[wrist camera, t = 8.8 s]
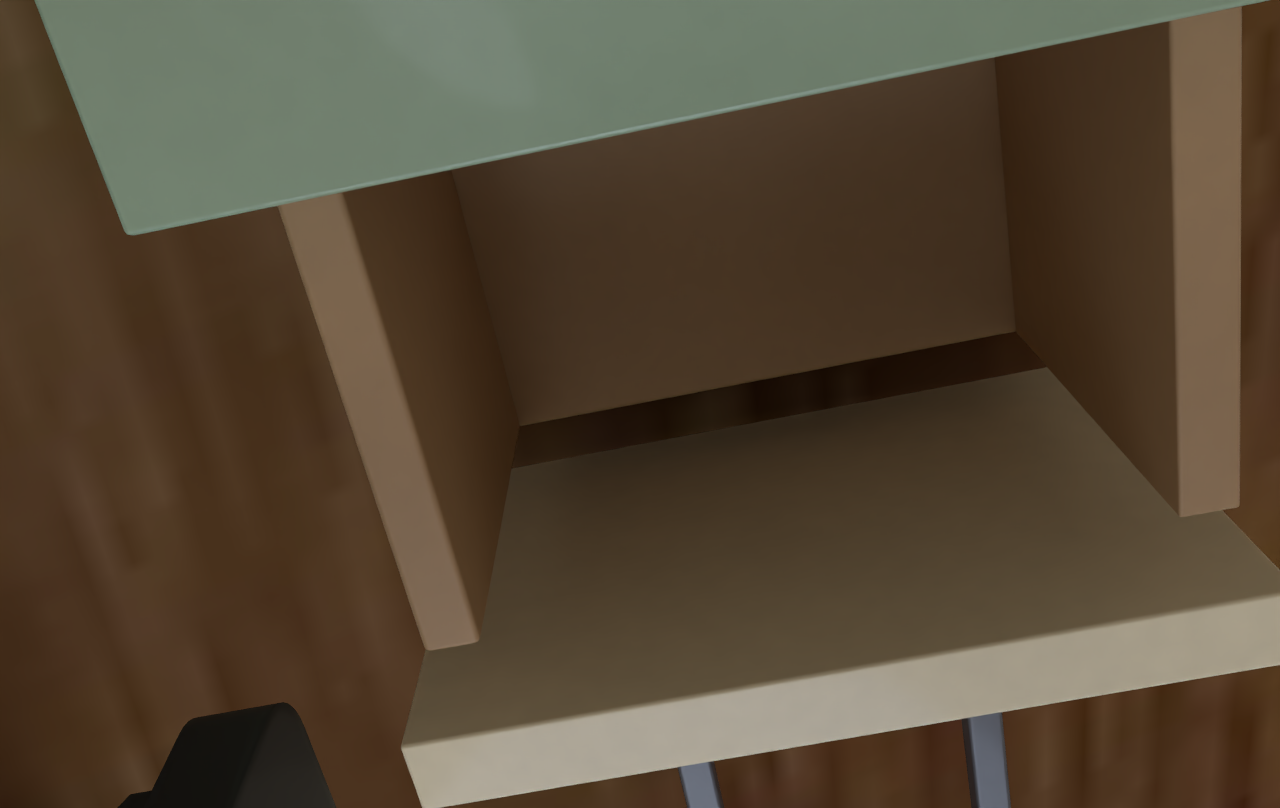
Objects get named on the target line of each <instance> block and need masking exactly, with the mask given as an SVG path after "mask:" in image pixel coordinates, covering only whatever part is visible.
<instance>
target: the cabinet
mask: <svg viewBox="0 0 1280 808" xmlns="http://www.w3.org/2000/svg"><path fill="white" fill-rule="evenodd" d="M1264 1H1269V0H35V3H36V5H37V8H38V10H39V13H40V16H41V18H42V21H43V23H44V26H45V28H46V31H47V33H48V36H49V39H50V41H51V44H52V46H53V49H54V51H55V54H56V57H57V59H58V62H59V64H60V67H61V69H62V72H63V75H64V77H65V80H66V82H67V85H68V87H69V90H70V92H71V95H72V98H73V100H74V103H75V105H76V108H77V110H78V113H79V116H80V118H81V121H82V123H83V126H84V128H85V131H86V133H87V136H88V139H89V141H90V144H91V146H92V149H93V151H94V154H95V157H96V159H97V162H98V164H99V167H100V169H101V172H102V175H103V177H104V180H105V182H106V185H107V187H108V190H109V192H110V195H111V198H112V200H113V203H114V205H115V208H116V210H117V213H118V216H119V218H120V221H121V223H122V226H123V228H124V231H125V232H126V233H127V235H139V234H144V233H148V232H153V231H158V230H163V229H168V228H173V227H177V226H182V225H187V224H192V223H197V222H201V221H206V220H211V219H216V218H221V217H226V216H230V215H235V214H240V213H245V212H250V211H255V210H259V209H264V208H269V207H274V206H279V205H284V204H288V203H293V202H298V201H303V200H308V199H313V198H317V197H322V196H327V195H332V194H337V193H342V192H346V191H351V190H356V189H361V188H366V187H371V186H375V185H380V184H385V183H390V182H395V181H400V180H404V179H409V178H414V177H419V176H424V175H428V174H433V173H438V172H443V171H448V170H453V169H457V168H462V167H467V166H472V165H477V164H482V163H486V162H491V161H496V160H501V159H506V158H511V157H515V156H520V155H525V154H530V153H535V152H540V151H544V150H549V149H554V148H559V147H564V146H569V145H573V144H578V143H583V142H588V141H593V140H598V139H602V138H607V137H612V136H617V135H622V134H627V133H631V132H636V131H641V130H646V129H651V128H655V127H660V126H665V125H670V124H675V123H680V122H684V121H689V120H694V119H699V118H704V117H709V116H713V115H718V114H723V113H728V112H733V111H738V110H742V109H747V108H752V107H757V106H762V105H767V104H771V103H776V102H781V101H786V100H791V99H796V98H800V97H805V96H810V95H815V94H820V93H825V92H829V91H834V90H839V89H844V88H849V87H854V86H858V85H863V84H868V83H873V82H878V81H882V80H887V79H892V78H897V77H902V76H907V75H911V74H916V73H921V72H926V71H931V70H936V69H940V68H945V67H950V66H955V65H960V64H965V63H969V62H974V61H979V60H984V59H989V58H994V57H998V56H1003V55H1008V54H1013V53H1018V52H1023V51H1027V50H1032V49H1037V48H1042V47H1047V46H1052V45H1056V44H1061V43H1066V42H1071V41H1076V40H1081V39H1085V38H1090V37H1095V36H1100V35H1105V34H1109V33H1114V32H1119V31H1124V30H1129V29H1134V28H1138V27H1143V26H1148V25H1153V24H1158V23H1163V22H1167V21H1172V20H1177V19H1182V18H1187V17H1192V16H1196V15H1201V14H1206V13H1211V12H1216V11H1221V10H1225V9H1230V8H1235V7H1240V6H1245V5H1250V4H1254V3H1259V2H1264Z"/></svg>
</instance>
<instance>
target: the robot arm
mask: <svg viewBox="0 0 1280 808" xmlns="http://www.w3.org/2000/svg"><path fill="white" fill-rule="evenodd" d="M118 808H336V806H335V803H334V801H333V798H332V796H331V793H330V791H329V788H328V786H327V783H326V781H325V778H324V776H323V773H322V770H321V768H320V765H319V763H318V760H317V758H316V755H315V753H314V750H313V748H312V745H311V743H310V740H309V738H308V735H307V733H306V730H305V727H304V725H303V723H302V721H301V718H300V717H299V715H298V713H297V712H296V710H295V709H294V708H293V707H292V706H291V705H289V704H288V703H284V702H283V703H277V704H271V705H266V706H260V707H254V708H249V709H243V710H237V711H231V712H226V713H220V714H214V715H209V716H203V717H197V718H193V719H192V720H190V721H188V722H187V724H186V725H185V726H184V727H183V729H182V730H181V732H180V734H179V736H178V738H177V740H176V742H175V744H174V746H173V748H172V750H171V752H170V754H169V756H168V758H167V761H166V763H165V765H164V767H163V769H162V771H161V773H160V775H159V777H158V779H157V781H156V783H155V785H154V787H153V789H152V791H147V792H142V793H136V794H130V795H129V796H128V797H127V798H126V800H125V801H124V802H123V803H122V804H121V805H120V806H119V807H118Z"/></svg>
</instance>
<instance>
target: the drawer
mask: <svg viewBox="0 0 1280 808" xmlns="http://www.w3.org/2000/svg"><path fill="white" fill-rule="evenodd" d="M1241 90H1242V6H1240V7H1235V8H1230V9H1225V10H1221V11H1216V12H1211V13H1206V14H1201V15H1196V16H1192V17H1187V18H1182V19H1177V20H1172V21H1167V22H1163V23H1158V24H1153V25H1148V26H1143V27H1138V28H1134V29H1129V30H1124V31H1119V32H1114V33H1109V34H1105V35H1100V36H1095V37H1090V38H1085V39H1081V40H1076V41H1071V42H1066V43H1061V44H1056V45H1052V46H1047V47H1042V48H1037V49H1032V50H1027V51H1023V52H1018V53H1013V54H1008V55H1003V56H998V57H994V58H989V59H984V60H979V61H974V62H969V63H965V64H960V65H955V66H950V67H945V68H940V69H936V70H931V71H926V72H921V73H916V74H911V75H907V76H902V77H897V78H892V79H887V80H882V81H878V82H873V83H868V84H863V85H858V86H854V87H849V88H844V89H839V90H834V91H829V92H825V93H820V94H815V95H810V96H805V97H800V98H796V99H791V100H786V101H781V102H776V103H771V104H767V105H762V106H757V107H752V108H747V109H742V110H738V111H733V112H728V113H723V114H718V115H713V116H709V117H704V118H699V119H694V120H689V121H684V122H680V123H675V124H670V125H665V126H660V127H655V128H651V129H646V130H641V131H636V132H631V133H627V134H622V135H617V136H612V137H607V138H602V139H598V140H593V141H588V142H583V143H578V144H573V145H569V146H564V147H559V148H554V149H549V150H544V151H540V152H535V153H530V154H525V155H520V156H515V157H511V158H506V159H501V160H496V161H491V162H486V163H482V164H477V165H472V166H467V167H462V168H457V169H453V170H448V171H443V172H438V173H433V174H428V175H424V176H419V177H414V178H409V179H404V180H400V181H395V182H390V183H385V184H380V185H375V186H371V187H366V188H361V189H356V190H351V191H346V192H342V193H337V194H332V195H327V196H322V197H317V198H313V199H308V200H303V201H298V202H293V203H288V204H284V205H279V206H278V209H279V212H280V215H281V218H282V221H283V224H284V227H285V230H286V233H287V236H288V239H289V242H290V245H291V248H292V251H293V254H294V257H295V260H296V263H297V266H298V269H299V272H300V275H301V278H302V281H303V284H304V287H305V290H306V293H307V296H308V299H309V302H310V305H311V308H312V311H313V314H314V317H315V320H316V323H317V326H318V329H319V332H320V335H321V338H322V341H323V344H324V347H325V350H326V353H327V356H328V359H329V362H330V365H331V368H332V371H333V374H334V377H335V380H336V383H337V386H338V389H339V392H340V395H341V398H342V401H343V404H344V407H345V410H346V413H347V416H348V419H349V422H350V425H351V428H352V431H353V434H354V437H355V440H356V443H357V446H358V449H359V452H360V455H361V458H362V461H363V464H364V467H365V470H366V473H367V476H368V479H369V482H370V485H371V488H372V491H373V494H374V497H375V500H376V503H377V506H378V509H379V512H380V515H381V518H382V521H383V524H384V527H385V530H386V533H387V536H388V539H389V542H390V545H391V548H392V551H393V554H394V557H395V560H396V564H397V567H398V570H399V573H400V576H401V579H402V582H403V585H404V588H405V591H406V594H407V597H408V600H409V603H410V606H411V609H412V612H413V615H414V618H415V621H416V624H417V627H418V630H419V633H420V636H421V639H422V642H423V645H424V647H425V648H426V651H425V655H424V659H423V663H422V667H421V670H420V674H419V678H418V682H417V686H416V690H415V694H414V698H413V702H412V706H411V710H410V714H409V717H408V721H407V725H406V729H405V733H404V737H403V741H402V745H401V749H402V752H403V755H404V757H405V760H406V763H407V766H408V769H409V771H410V774H411V777H412V780H413V783H414V785H415V788H416V791H417V794H418V797H419V799H420V802H421V805H422V808H440V807H446V806H452V805H458V804H464V803H470V802H476V801H482V800H488V799H493V798H499V797H505V796H511V795H517V794H523V793H529V792H535V791H540V790H546V789H552V788H558V787H564V786H570V785H576V784H582V783H587V782H593V781H599V780H605V779H611V778H617V777H623V776H629V775H635V774H640V773H646V772H652V771H658V770H664V769H670V768H676V767H678V771H679V775H680V779H681V783H682V788H683V792H684V796H685V800H686V804H687V808H724V805H723V800H722V796H721V791H720V787H719V782H718V778H717V773H716V769H715V764H714V761H717V760H723V759H729V758H734V757H740V756H746V755H752V754H758V753H764V752H770V751H776V750H781V749H787V748H793V747H799V746H805V745H811V744H817V743H823V742H829V741H834V740H840V739H846V738H852V737H858V736H864V735H870V734H876V733H881V732H887V731H893V730H899V729H905V728H911V727H917V726H923V725H928V724H934V723H940V722H946V721H952V720H958V719H962V728H963V736H964V745H965V754H966V763H967V771H968V780H969V789H970V798H971V807H972V808H1011V802H1010V792H1009V782H1008V771H1007V761H1006V751H1005V740H1004V730H1003V720H1002V712H1005V711H1011V710H1017V709H1023V708H1028V707H1034V706H1040V705H1046V704H1052V703H1058V702H1064V701H1070V700H1075V699H1081V698H1087V697H1093V696H1099V695H1105V694H1111V693H1117V692H1122V691H1128V690H1134V689H1140V688H1146V687H1152V686H1158V685H1164V684H1170V683H1175V682H1181V681H1187V680H1193V679H1199V678H1205V677H1211V676H1217V675H1222V674H1228V673H1234V672H1240V671H1246V670H1252V669H1258V668H1264V667H1269V666H1275V665H1280V570H1279V569H1278V568H1277V567H1276V566H1275V565H1274V564H1273V563H1272V562H1271V561H1270V560H1269V559H1268V557H1267V556H1266V555H1265V554H1264V553H1263V552H1262V551H1261V550H1260V549H1259V548H1258V547H1257V546H1256V545H1255V544H1254V543H1253V542H1252V541H1251V540H1250V539H1249V538H1248V537H1247V536H1246V535H1245V534H1244V533H1243V532H1242V530H1241V529H1240V528H1239V527H1238V526H1237V525H1236V524H1235V523H1234V522H1233V521H1232V520H1231V519H1230V518H1229V517H1228V516H1227V515H1226V514H1225V513H1224V512H1223V511H1222V510H1225V509H1230V508H1236V507H1238V506H1239V505H1240V322H1241ZM1015 331H1016V332H1017V334H1018V335H1019V336H1020V337H1021V338H1022V339H1023V341H1024V342H1025V343H1026V344H1027V345H1028V346H1029V347H1030V348H1031V350H1032V351H1033V352H1034V353H1035V354H1036V355H1037V356H1038V357H1039V359H1040V360H1041V361H1042V362H1043V363H1044V364H1045V365H1046V366H1047V367H1046V368H1041V369H1035V370H1030V371H1025V372H1020V373H1014V374H1009V375H1004V376H998V377H993V378H988V379H983V380H977V381H972V382H967V383H961V384H956V385H951V386H946V387H940V388H935V389H930V390H924V391H919V392H914V393H908V394H903V395H898V396H893V397H887V398H882V399H877V400H871V401H866V402H861V403H856V404H850V405H845V406H840V407H834V408H829V409H824V410H819V411H813V412H808V413H803V414H797V415H792V416H787V417H782V418H776V419H771V420H766V421H760V422H755V423H750V424H744V425H739V426H734V427H729V428H723V429H718V430H713V431H707V432H702V433H697V434H692V435H686V436H681V437H676V438H670V439H665V440H660V441H655V442H649V443H644V444H639V445H633V446H628V447H623V448H618V449H612V450H607V451H602V452H596V453H591V454H586V455H580V456H575V457H570V458H565V459H559V460H554V461H549V462H543V463H538V464H533V465H528V466H522V467H517V468H512V464H513V459H514V453H515V448H516V443H517V437H518V432H519V426H524V425H529V424H535V423H540V422H545V421H550V420H555V419H561V418H566V417H571V416H576V415H582V414H587V413H592V412H597V411H602V410H608V409H613V408H618V407H623V406H629V405H634V404H639V403H644V402H649V401H655V400H660V399H665V398H670V397H676V396H681V395H686V394H691V393H696V392H702V391H707V390H712V389H717V388H723V387H728V386H733V385H738V384H744V383H749V382H754V381H759V380H764V379H770V378H775V377H780V376H785V375H791V374H796V373H801V372H806V371H811V370H817V369H822V368H827V367H832V366H838V365H843V364H848V363H853V362H858V361H864V360H869V359H874V358H879V357H885V356H890V355H895V354H900V353H906V352H911V351H916V350H921V349H926V348H932V347H937V346H942V345H947V344H953V343H958V342H963V341H968V340H973V339H979V338H984V337H989V336H994V335H1000V334H1005V333H1010V332H1015Z"/></svg>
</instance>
